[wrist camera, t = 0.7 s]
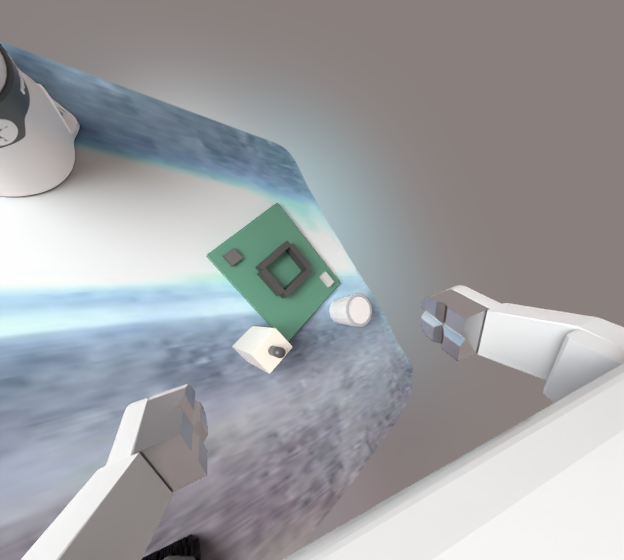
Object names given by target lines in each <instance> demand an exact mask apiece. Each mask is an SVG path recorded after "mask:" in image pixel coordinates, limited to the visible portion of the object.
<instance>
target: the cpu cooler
mask: <svg viewBox="0 0 624 560" xmlns="http://www.w3.org/2000/svg"><path fill="white" fill-rule="evenodd" d="M184 543H185V538H183V539H182V541H181V543H180V548H179V550H178V555H177V556H175V554H176V547H177V541H176V542H174V546H173V556H171V544H170V552H169V545H168V547H167V556H166V558H165V547H164V551H163V548H162V549H161V557H160V559H159V554H157V551H156V556H154V553H152V556H151V560H201V556H200V547H199V539H198V538H197V539H195V540H192V535H191V537H190V538H189V541H188V544H187V547H185V551H184V553H183V555H182V556H181V547H182V549H183V547H184ZM142 560H145V557H144V558H142ZM146 560H147V557H146ZM148 560H150V556H149V555H148Z"/></svg>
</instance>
